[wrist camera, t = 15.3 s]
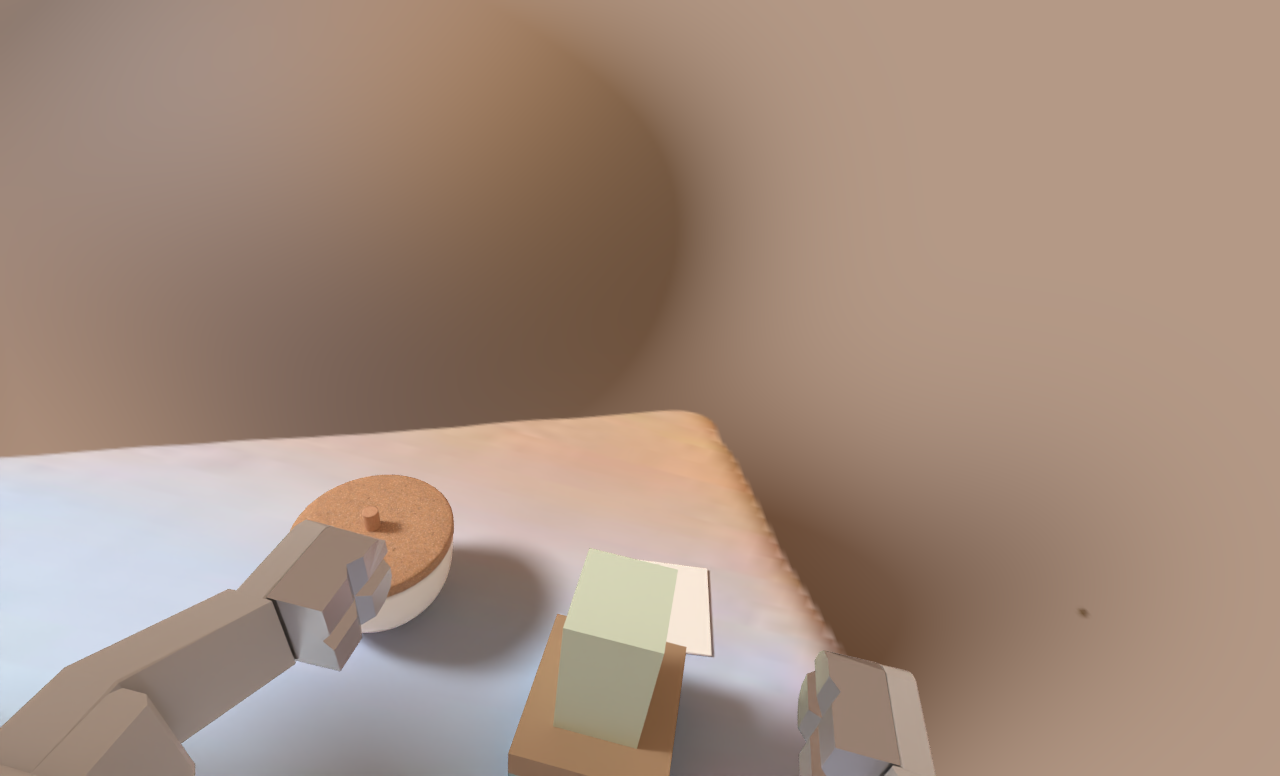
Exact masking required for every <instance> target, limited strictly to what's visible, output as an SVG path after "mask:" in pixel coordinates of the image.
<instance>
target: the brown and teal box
mask: <svg viewBox="0 0 1280 776" xmlns="http://www.w3.org/2000/svg"><path fill="white" fill-rule="evenodd" d="M566 618H567V616H564V615H560V614H557V616H556V619H555V622H554V625H553V628H552V631H551V633H550V636H549V639H548V642H547V645H546V648H545V651H544V653H543V656H542V659H541V662H540V665H539V668H538V670H537V673H536V676H535V679H534V682H533V685H532V687H531V690H530V693H529V696H528V699H527V702H526V705H525V707H524V710H523V713H522V716H521V719H520V722H519V724H518V727H517V730H516V733H515V736H514V739H513V741H512V744H511V747H510V750H509V753H508V776H669V774H670V766H671V759H672V752H673V744H674V737H675V729H676V722H677V715H678V707H679V700H680V693H681V685H682V678H683V670H684V663H685V656H686V648H687V647H684V646H681V645H677V644H673V643H669V642H666V646H665V652H664V656H663V660H662V663H661V667H660V670H659V673H658V677H657V680H656V684H655V687H654V691H653V694H652V698H651V701H650V705H649V708H648V712H647V715H646V719H645V722H644V726H643V729H642V733H641V736H640V739H639V743H638V746H637V749H635V748H631V747H628V746H624V745H620V744H617V743H613V742H609V741H606V740H602V739H598V738H594V737H591V736H587V735H583V734H580V733H576V732H572V731H569V730H565V729H561V728H557V727H554V726H553V722H554V712H555V703H556V693H557V683H558V673H559V663H560V653H561V643H562V633H563V627H564V624H565V621H566Z"/></svg>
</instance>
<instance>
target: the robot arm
mask: <svg viewBox="0 0 1280 776" xmlns="http://www.w3.org/2000/svg"><path fill="white" fill-rule="evenodd" d="M387 552H388V550H387V546H386V542H385V540H382V539H378V538H375V537H371V536H367V535H363V534H359V533H356V532H352V531H348V530H344V529H340V528H337V527H334V526H330V525H326V524H322V523H318V522H314V521H310V520H304V521H303V522H301V523H299V524H297V525H296V526H295V527H294V528H293V529H292V530H291V531H290V532H289V533H288V534H287V536H286V537H285V538H284V539H283V540H282V541H281V542H280V543H279V544H278V545H277V547H276V548H275V549H274V550H273V551H272V552H271V553H270V554H269V555H268V556H267V557H266V559H265V560H264V561H263V562H262V563H261V564H260V565H259V566H258V567H257V568H256V569H255V571H254V572H253V573H252V574H251V575H250V576H249V577H248V578H247V579H246V580H245V582H244V583H243V584H242V585H241V586H240V587H239V588H238V589H237V590H231V589H227V590H225V591H223V592H221V593H219V594H217V595H215V596H213V597H211V598H209V599H206V600H204V601H202V602H200V603H198V604H196V605H194V606H192V607H190V608H188V609H186V610H184V611H181V612H179V613H177V614H175V615H173V616H171V617H169V618H167V619H165V620H163V621H161V622H159V623H156V624H154V625H152V626H150V627H148V628H146V629H144V630H142V631H140V632H138V633H136V634H134V635H131V636H129V637H127V638H125V639H123V640H121V641H119V642H117V643H115V644H113V645H111V646H109V647H106V648H104V649H102V650H100V651H98V652H96V653H94V654H92V655H90V656H88V657H86V658H84V659H81V660H79V661H77V662H75V663H73V664H71V665H69V666H67V667H65V668H64V669H62V670H61V671H60V672H59V673H58V674H57V675H56V676H55V677H54V678H53V679H52V680H51V681H50V682H49V683H48V684H46V685H45V686H44V687H43V688H42V689H41V690H40V691H39V692H38V693H37V694H36V695H35V696H34V697H33V698H32V699H31V700H29V701H28V702H27V703H26V704H25V705H24V706H23V707H22V708H21V709H20V710H19V711H18V712H17V713H16V714H15V715H13V716H12V717H11V718H10V719H9V720H8V721H7V722H6V723H5V724H4V725H3V726H2V727H1V728H0V776H194V775H195V763H194V762H193V761H192V759H191V758H190V756H189V755H188V753H187V752H186V751H185V749H184V748H183V746H182V745H181V743H182V742H184V741H185V740H187V739H188V738H190V737H191V736H192V735H194V734H195V733H197V732H198V731H200V730H201V729H202V728H204V727H205V726H207V725H208V724H210V723H211V722H213V721H214V720H215V719H217V718H218V717H220V716H221V715H223V714H224V713H225V712H227V711H228V710H230V709H231V708H233V707H234V706H235V705H237V704H238V703H240V702H241V701H243V700H244V699H246V698H247V697H248V696H250V695H251V694H253V693H254V692H256V691H257V690H258V689H260V688H261V687H263V686H264V685H266V684H267V683H268V682H270V681H271V680H273V679H274V678H276V677H277V676H279V675H280V674H281V673H283V672H284V671H286V670H287V669H289V668H290V667H291V666H293V665H294V664H295V663H296V662H295V661H299V662H304V663H308V664H312V665H316V666H320V667H324V668H328V669H333V670H337V671H341V670H342V668H343V667H344V665H345V663H346V662H347V660H348V659H349V657H350V656H351V654H352V653H353V651H354V650H355V648H356V647H357V645H358V643H359V642H360V640H361V639H362V630H361V625H362V624H364V623H365V622H367V621H369V620H371V619H372V618H374V617H376V616H377V614H378V612H379V611H380V609H381V607H382V606H383V604H384V603H385V600H386V598H387V595H388V592H389V590H390V587H391V579H392V573H391V567H390V566H389V565H388V564H387V563H386V562H385V561H384V559H383V558H384V557H385V555H386V554H387ZM798 729H799V730H800V732H801V734H802V736H803V737H804V739H805V741H806V744H805V746H804V747H803V749H802V750H801V752H800V754H799V775H800V776H936V773H935V768H934V763H933V758H932V754H931V749H930V744H929V740H928V735H927V730H926V726H925V721H924V717H923V712H922V707H921V702H920V698H919V693H918V689H917V684H916V680H915V678H914V676H913V675H912V673H910V672H908V671H906V670H902V669H897V668H893V667H889V666H884V665H880V664H879V663H875V662H871V661H867V660H863V659H859V658H854V657H850V656H846V655H842V654H837V653H833V652H829V651H825V650H823V651H821V652H819V654H818V656H817V657H816V659H815V671H814V672H811V673H808V674H807V675H806V677H805V679H804V681H803V683H802V686H801V690H800V695H799V699H798Z"/></svg>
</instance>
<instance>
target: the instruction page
mask: <svg viewBox="0 0 1280 776" xmlns="http://www.w3.org/2000/svg"><path fill="white" fill-rule="evenodd" d="M641 561H644V560H641ZM645 562H649V563H653V564H657V565H661V566H665V567H669V568H673V569H677V570H678V573H677V579H676V585H675V591H674V597H673V603H672V609H671V615H670V621H669V628H668V634H667V640H666V642H669V643H673V644H677V645H681V646H684V647H687V648H686V654H694V655H702V656H710V657H711V655H712V653H711V634H710V615H709V596H708V576H707V569H706V568H698V567H690V566H683V565H675V564H667V563H659V562H652V561H645Z"/></svg>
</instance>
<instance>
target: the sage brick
mask: <svg viewBox="0 0 1280 776" xmlns="http://www.w3.org/2000/svg"><path fill="white" fill-rule="evenodd" d="M677 573H678V570H677V569H673V568H669V567H665V566H661V565H657V564H653V563H649V562H645V561H641V560H637V559H632V558H628V557H624V556H620V555H616V554H612V553H608V552H604V551H600V550H596V549H592V548H589V551H588V554H587V557H586V560H585V563H584V566H583V569H582V572H581V575H580V578H579V581H578V584H577V587H576V590H575V593H574V596H573V599H572V602H571V605H570V608H569V612H568V615H567V618H566V621H565V624H564V627H563V633H562V643H561V653H560V663H559V673H558V683H557V693H556V703H555V712H554V722H553V726H554V727H557V728H561V729H565V730H569V731H572V732H576V733H580V734H583V735H587V736H591V737H594V738H598V739H602V740H606V741H609V742H613V743H617V744H620V745H624V746H628V747H631V748H635V749H637V746H638V743H639V739H640V736H641V733H642V729H643V726H644V722H645V719H646V715H647V712H648V708H649V705H650V701H651V698H652V694H653V691H654V687H655V684H656V680H657V677H658V673H659V670H660V667H661V663H662V660H663V656H664V652H665V646H666V640H667V634H668V628H669V621H670V615H671V609H672V603H673V597H674V591H675V585H676V579H677Z"/></svg>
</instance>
